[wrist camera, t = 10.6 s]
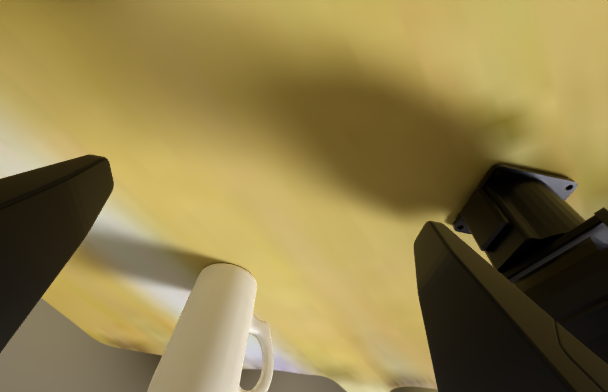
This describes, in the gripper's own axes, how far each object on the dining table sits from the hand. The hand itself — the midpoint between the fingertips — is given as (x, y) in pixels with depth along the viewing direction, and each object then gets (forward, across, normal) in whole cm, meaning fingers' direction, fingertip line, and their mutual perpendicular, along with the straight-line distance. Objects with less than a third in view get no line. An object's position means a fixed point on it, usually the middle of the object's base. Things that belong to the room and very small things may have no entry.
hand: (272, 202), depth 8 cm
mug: (+13, +2, +23) cm, 27 cm away
